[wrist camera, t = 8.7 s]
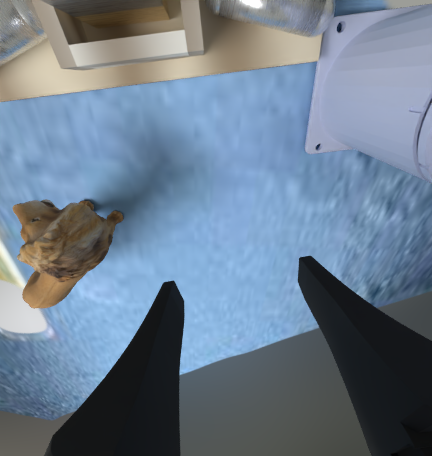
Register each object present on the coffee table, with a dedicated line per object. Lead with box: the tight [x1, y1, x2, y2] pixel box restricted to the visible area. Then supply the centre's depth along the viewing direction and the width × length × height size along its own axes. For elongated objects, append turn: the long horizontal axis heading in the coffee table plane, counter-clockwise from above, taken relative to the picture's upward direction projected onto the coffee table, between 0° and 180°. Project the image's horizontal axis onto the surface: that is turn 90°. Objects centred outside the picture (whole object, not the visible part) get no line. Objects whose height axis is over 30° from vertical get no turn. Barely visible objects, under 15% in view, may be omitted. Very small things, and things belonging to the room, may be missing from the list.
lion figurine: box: [13, 200, 123, 308], centre depth 17 cm, size 15×5×9 cm, turn 148°
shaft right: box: [205, 0, 336, 38], centre depth 10 cm, size 7×2×2 cm, turn 81°
